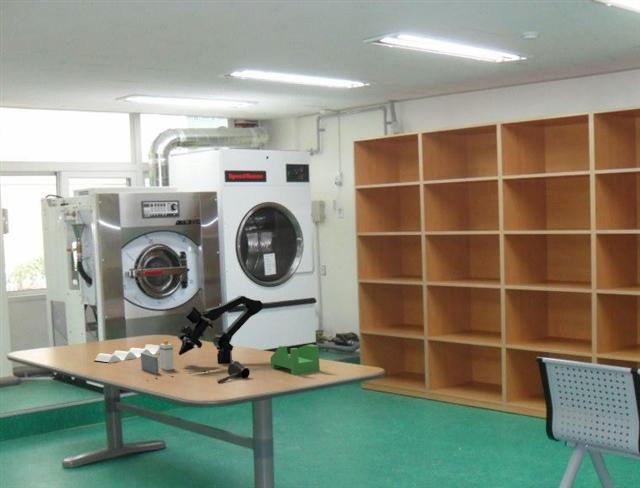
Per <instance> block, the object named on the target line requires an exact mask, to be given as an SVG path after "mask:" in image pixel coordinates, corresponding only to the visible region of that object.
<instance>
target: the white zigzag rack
mask: <svg viewBox="0 0 640 488" xmlns="http://www.w3.org/2000/svg"><path fill="white" fill-rule="evenodd" d="M141 353H146V354H149V355H152V356H155V355H160V346H159V345H158V344H151V343H150V344H149V343H146V344H145V346H144V348H138V347H131V348H130V349H129V350H128V351H125V350H124V351H123V350H115V351H114V352H113V353H112V354H109V353H98V355H97V356H96V357H95V359H94V361H93V362H94V363H101V364H107V363H108V364H112V363H118V362H123V360H124V361H127V360H132V359H138V358H139V357H140V358H141ZM140 358H139V359H140Z"/></svg>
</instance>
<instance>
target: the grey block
mask: <svg viewBox="0 0 640 488" xmlns="http://www.w3.org/2000/svg"><path fill="white" fill-rule="evenodd" d="M140 360H141V361H140V362H141V363H140V364H141V370H144V371H147V372H149V373H152V374H155V375H158V374H159V369H161V362H160V359H158V356H155V355H149V354H146V353H141V357H140Z"/></svg>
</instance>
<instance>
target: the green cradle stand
mask: <svg viewBox="0 0 640 488" xmlns="http://www.w3.org/2000/svg"><path fill="white" fill-rule="evenodd" d="M319 351H320V350H319V345H316V344H306V345H302V346H300V347H298V348H297V347H293V348H289V352H288V346H287V345H279V346H278V348H276V350H275V351H274V353H273V354H272V355H271V356H270V368H271V369H272V370H274V369H275V370H276V369H282V368H283V369H285V368H286V369H290V372H291V375H292V376H296V375H297V376H298V375H302V374H309V373H316V372H320V370H321V368H320V353H319Z"/></svg>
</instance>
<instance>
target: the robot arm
mask: <svg viewBox="0 0 640 488" xmlns="http://www.w3.org/2000/svg"><path fill="white" fill-rule="evenodd" d="M241 305H243V307H244V309H243V311H242V313H240V315H239V316H237V318H236V319H235V320H234V321H233V322H232V323H231V324H230V325H229V326H228V327H227V329H225V330H224V331H223V330H220V331H218V332H217V334H215V335H214V338H213V339H212V343H213V346H214V347H215V348H216V350H217V355H216V357H217V364H231V363H232V362H234V359H233V356H232V355H233V353H232V351H233V349H234V346H233V345H232V343H231V341H232V338H233V336H234V335H236V333H237V332H238V331H239V330H240V329H241V328H242V327H243V326H244V325H245V324H246V323H247V321H248V320H249V319H250V318H251V317H253V316H254V315H256V314H258V313H259V312H261V311H262V310H263V308H264V307H263V305H264V304H263V303H262V301H261V300H257V299H252V298H248V297H246V296H245V295H238V296H237V297H235V298H233V299H231V300H229V301H226V302H224V303H222V304H220V305H218V306H213V307H209V308H205V310H204V311H202V312H200V311H199V310H198V309H197V308H196V307H195V306H192V307H190V308H189V309H188V310H186V311H185V312H184V314H183V317H184V318H185V319H186V320H187V321H189V323H190V324H192V325H194V326H193V327H191V326H189V325H186V326H183V325H179V327H178V330H177V332H178V333H181V334H179V335H178V336H177V339H178V340H179V341H180V342H181V346H180V349H179V351H178V355H179V356H182V355H184V354H186V353H187V352H189V351H192V350H194V349H195V346H196V347H197V349H201V348H202V347H203V342H202V341H201V340H200V338H203V337H204V333H206V331H207V329H208V328H210V329H213V328H214V325H213V321H216V320H217V319H219V318H221V316H222V315H223V314H225V313H226V312H227V313H228V311H231V310H233V309H235V308H238V307H239V306H241ZM209 321H211V322H209Z"/></svg>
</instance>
